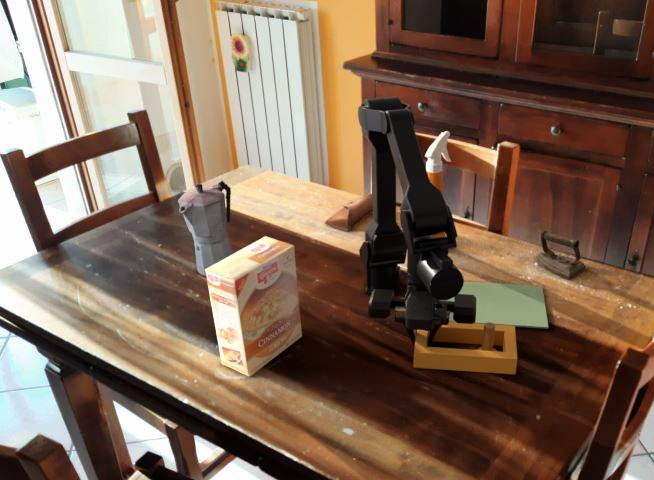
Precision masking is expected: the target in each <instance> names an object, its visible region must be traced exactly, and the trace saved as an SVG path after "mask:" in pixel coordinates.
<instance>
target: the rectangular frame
mask: <svg viewBox="0 0 654 480" xmlns="http://www.w3.org/2000/svg"><path fill="white" fill-rule="evenodd" d="M483 331H484V324H477V323H473V324H463V323H457V322H449V324H448V325H442V326H441V327H440V328H439V329H438V331H437V332H436V334H435V337H434V339H433V341H432V342H435V343H436V342H437V343H450V344H451V343H453V344H454V343H455V344H468V345H482V341H483ZM428 335H429V331H425V330H416V342H415V346H414V350H413V368H415V369H426V370H427V369H429V370H441V371H457V372H459V371H460V372H473V373H489V374H501V375H503V374H504V375H517V373H516V372H517V366H518V347H517V336H516V327H515V326H510V325H495V334H494V343H493V346H499V347H500V346H501V347H502V351H498V350H497V351H484V350H477V349H467V348H464V349H463V348H450V347H435V346H430V347H428Z"/></svg>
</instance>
